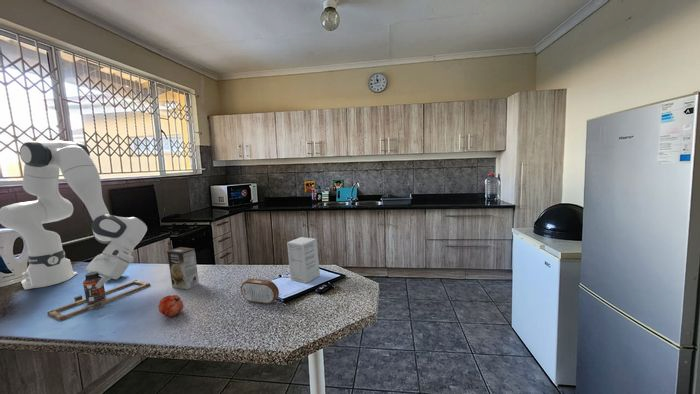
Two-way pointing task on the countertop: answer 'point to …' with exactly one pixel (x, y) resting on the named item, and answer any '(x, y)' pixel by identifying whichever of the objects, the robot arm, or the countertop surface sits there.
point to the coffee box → (183, 267)
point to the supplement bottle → (93, 288)
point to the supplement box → (303, 259)
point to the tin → (259, 291)
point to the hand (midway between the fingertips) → (91, 286)
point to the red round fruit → (170, 305)
